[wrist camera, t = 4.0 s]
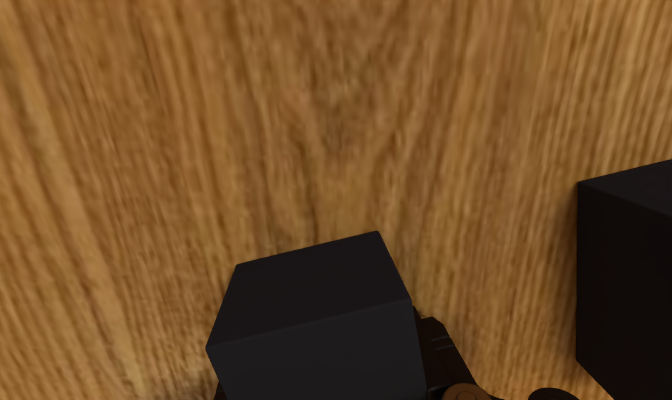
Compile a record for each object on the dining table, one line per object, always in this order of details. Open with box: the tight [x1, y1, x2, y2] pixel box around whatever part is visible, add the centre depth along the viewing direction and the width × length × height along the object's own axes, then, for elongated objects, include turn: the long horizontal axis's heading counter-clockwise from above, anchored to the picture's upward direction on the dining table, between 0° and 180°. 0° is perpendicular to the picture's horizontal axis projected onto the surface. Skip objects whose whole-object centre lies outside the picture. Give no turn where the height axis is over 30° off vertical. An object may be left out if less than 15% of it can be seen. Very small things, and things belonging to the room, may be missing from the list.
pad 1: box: [205, 231, 428, 400], centre depth 11 cm, size 5×8×4 cm, turn 13°
